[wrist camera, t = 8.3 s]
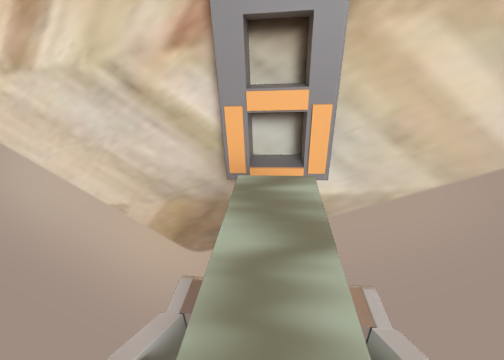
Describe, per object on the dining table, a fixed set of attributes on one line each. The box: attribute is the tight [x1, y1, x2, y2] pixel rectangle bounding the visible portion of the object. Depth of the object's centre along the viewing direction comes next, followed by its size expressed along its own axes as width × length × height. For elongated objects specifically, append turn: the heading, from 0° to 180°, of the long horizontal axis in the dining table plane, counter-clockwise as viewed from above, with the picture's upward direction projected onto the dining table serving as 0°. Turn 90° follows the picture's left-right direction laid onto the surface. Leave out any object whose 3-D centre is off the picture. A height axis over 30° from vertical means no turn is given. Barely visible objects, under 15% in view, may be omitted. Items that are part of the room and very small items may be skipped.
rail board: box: [210, 0, 350, 180], centre depth 25 cm, size 12×28×4 cm, turn 2°
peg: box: [176, 175, 371, 360], centre depth 10 cm, size 4×4×12 cm
